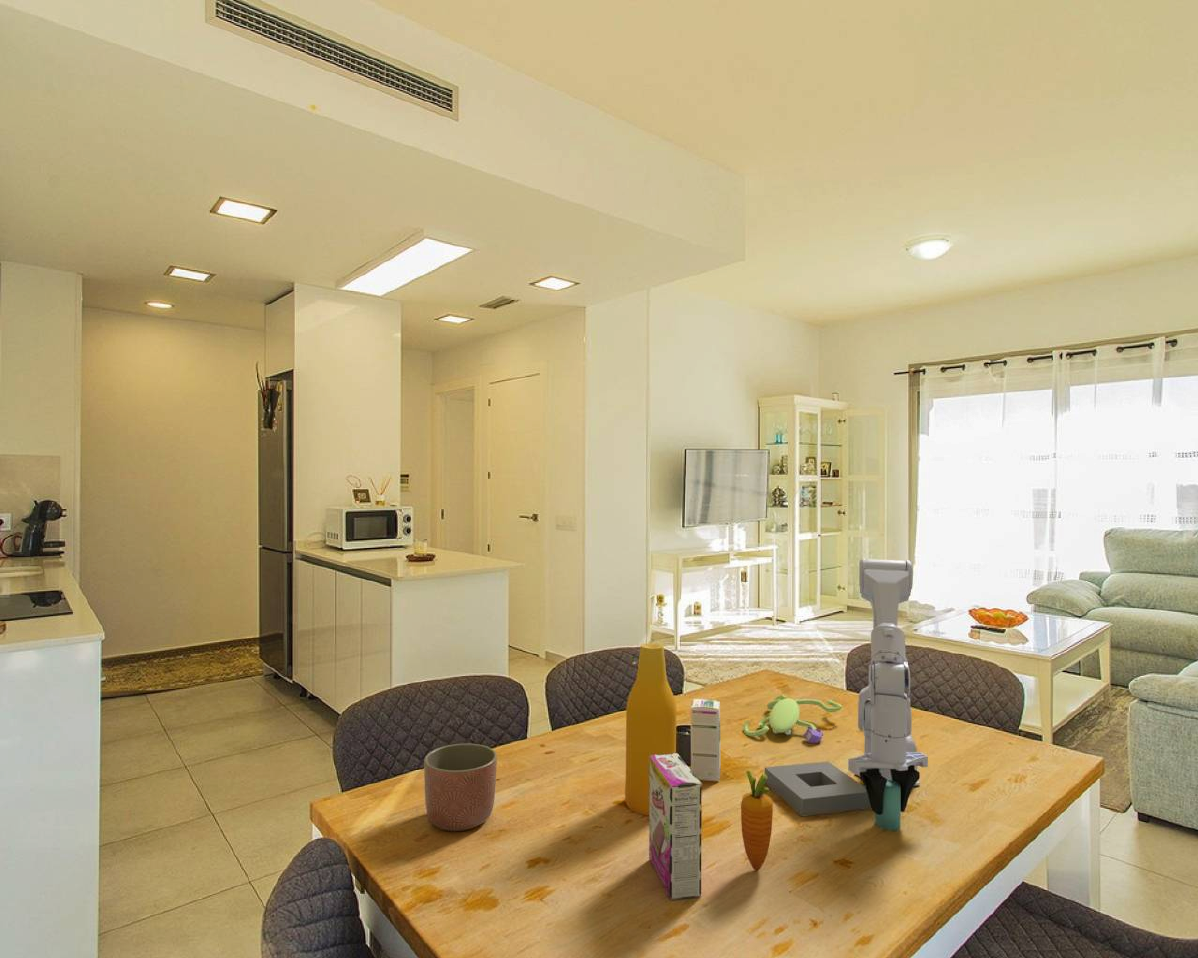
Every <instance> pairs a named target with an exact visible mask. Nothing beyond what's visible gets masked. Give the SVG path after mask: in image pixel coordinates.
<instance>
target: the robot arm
mask: <svg viewBox="0 0 1198 958" xmlns="http://www.w3.org/2000/svg"><path fill="white" fill-rule="evenodd" d="M858 564H859V565H858V567H859V569H858V571H859V573H858V574H859V575H858V577H859V578H858V580H859V581H858V585H859V594H860V596H861V597H860V598H862V599H863V600H866V601H868V602H869V603H870V605H871V606H870V607H871V609H872V612H873V614H872V615H873V617H872V618H873V621H872V622H873V624H872V625H873V626H872V628H873V629H872V630H871V632H870V654H871V655H870V662H871V663H869V666H868V685H867V686H866V687H864V688H862V689H861V690H860V691H859V692H858V701H857V706H858V707H857V728H858V729H859V731H860V732H863V733H864V735H863V736H864V746H863V747H864V748H863V749H864V750H863V751H864V753H863V754H862V755H859V756H856V757H853V758H848V760H847V763H848V765H847V766H848V767H847V768H848V769H847V770H848V771H849V772H851V773H852V774H854V775H857V776H858V777H860V779H861V780H862V782H863V786H864V787H865V788H866V791H867V794H868V797H869V801H870V806H871V808H870V810H871V811H872V812H873V813H874V814H875V813H876V814H878V815H881V814H882V811H883V795H884V790H885V786H886V783H887V781H888V780H892V781H895V782H897V783H899V784H900V786H901V813H904V812H905V811H906V808H907V805H908V801H909V798H910V795H911V792H912V791H913V789H914V787H915V786H920V785H921V782H920V781H919V780H920V776H921V775H920V774H921V773H920V771H918V767H921V768H929V767H928V766H929V760H928V759H929V757H928V755H926V754H925V753H923V752H921V751H918V748H917V745H916V743H915V739H913V737H912V736H911V734H912V727H913V726H912V722H913V721H912V720H913V719H912V708H911V698H910V694H911V672H910V666H909V662H908V658H907V656H906V655H907V653H906V635H905V633H904V631H903V630H902V629H901V627H898V617H899V604H902V603H905V602H908V601H909V599H910V597H911V593H912V590H913V586H914V585H913V582H914V574H913V573H914V571H913V563H912V562H911V561H910V559H906V560H902V559H901V560H900V559H899V560H897V559H880V558H879V559H876V558H865V557H862V558H861V559H860V560H859V563H858ZM905 690H906V692H905Z"/></svg>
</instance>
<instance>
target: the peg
mask: <svg viewBox="0 0 1198 958" xmlns="http://www.w3.org/2000/svg"><path fill="white" fill-rule="evenodd" d="M874 814H875V821H874V822H875V825H876V826H877V827H878V828H880V829H883V830H886V831H899V830H900V829H901V814H902V812H901V786H900V784H899V783H897V782H895V781H892V780H888V781H887V783H886V786H885V790H884V795H883V811H882V814H881V815H878V814H876V813H875V812H874Z"/></svg>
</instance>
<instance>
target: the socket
mask: <svg viewBox="0 0 1198 958" xmlns="http://www.w3.org/2000/svg"><path fill="white" fill-rule="evenodd" d="M764 774H766V775H767V780H766V782H765V784H764V785H766V786H767V787H768V788H770V789H771V790H772V791H773V792H774V793H776V794H777V795H778V796H779V797H780V798H781V799H782V800H784V801H785V802H786V803H787V804H788V805H789V806H790V807H791V808H792V809H793V810H794V811H796V812H797V813H798V815H800V816H801V817H808V816H814V815H815V816H817V815H824V814H832V813H833V814H834V813H840V812H849V811H857V810H858V811H859V810H866V809H867V810H868V809H871V806H870V801H869V797H868V794H867V791H866V788H865V785H864V784H861V783H860V782H859V781H857V780H855V779H854V778H852V777H851V776H850V775H848V774H847V773H845V772H844V771H842V769H840V768H838V767H837V766H836V765H834V764H832V763H831V762H830V761H827V760H826V761H818V762H817V761H816V762H809V763H808V762H806V763H797V764H786V765H778V766H767V767H766V766H765V767H764Z"/></svg>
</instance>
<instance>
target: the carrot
mask: <svg viewBox="0 0 1198 958" xmlns="http://www.w3.org/2000/svg"><path fill="white" fill-rule="evenodd" d="M745 774H746V776H747V779H748V782H749V785H750V790H751V792H747V793H744V794H743V795H742V798H741V799H742V800H741V803H740V809H741V810H740V820H741V822H740V823H741V835H742V841H743V846H744V851H745V854H746V857H747V859H748V861H749V863H750V866H751V867H752V869H753V870H754V871H756V872H758V871H759V870H760V869H761V868H762V867H763V865H764V863H765V861H766V858H767V855H768V853H769V847H770V844H771V843H770V842H771V836H772V830H773V816H774V815H773V814H774V803H773V802H774V801H773V799H772V798H771V797H770V796H768V795H766V793H768V791H769V790H770V789H769V788H770V787H768V786H766V787H765V786H764V785H766V784H765V782H766V780H767V775H766V774H765V773H762V774H761V776H760V777H759V779H758V782H757V783H756V781H757V778H756V777H755V776H753V775H752V772H751V770H747V771H745Z"/></svg>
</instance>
